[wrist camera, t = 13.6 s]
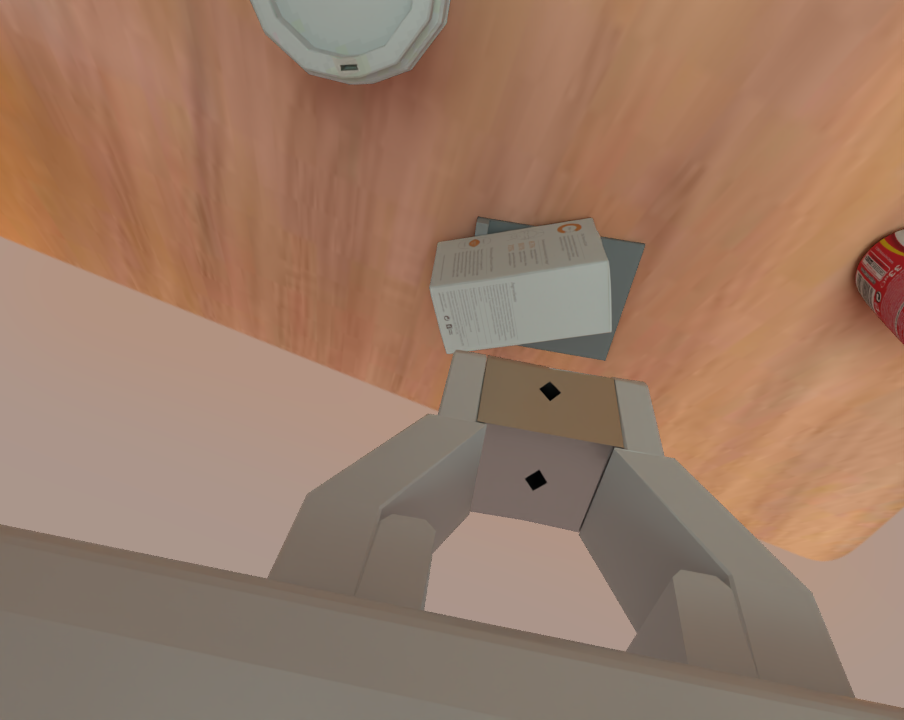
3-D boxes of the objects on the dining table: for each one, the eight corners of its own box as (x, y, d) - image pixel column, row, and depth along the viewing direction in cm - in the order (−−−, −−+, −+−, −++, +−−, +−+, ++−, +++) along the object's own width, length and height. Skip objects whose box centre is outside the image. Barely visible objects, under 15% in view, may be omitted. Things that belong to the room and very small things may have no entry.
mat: (461, 333, 53) (459, 340, 52) (478, 216, 46) (476, 222, 45) (604, 358, 52) (606, 366, 51) (644, 243, 45) (646, 249, 44)
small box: (445, 356, 43) (613, 334, 41) (427, 286, 40) (610, 259, 37) (451, 304, 50) (597, 283, 48) (436, 240, 46) (593, 214, 44)
